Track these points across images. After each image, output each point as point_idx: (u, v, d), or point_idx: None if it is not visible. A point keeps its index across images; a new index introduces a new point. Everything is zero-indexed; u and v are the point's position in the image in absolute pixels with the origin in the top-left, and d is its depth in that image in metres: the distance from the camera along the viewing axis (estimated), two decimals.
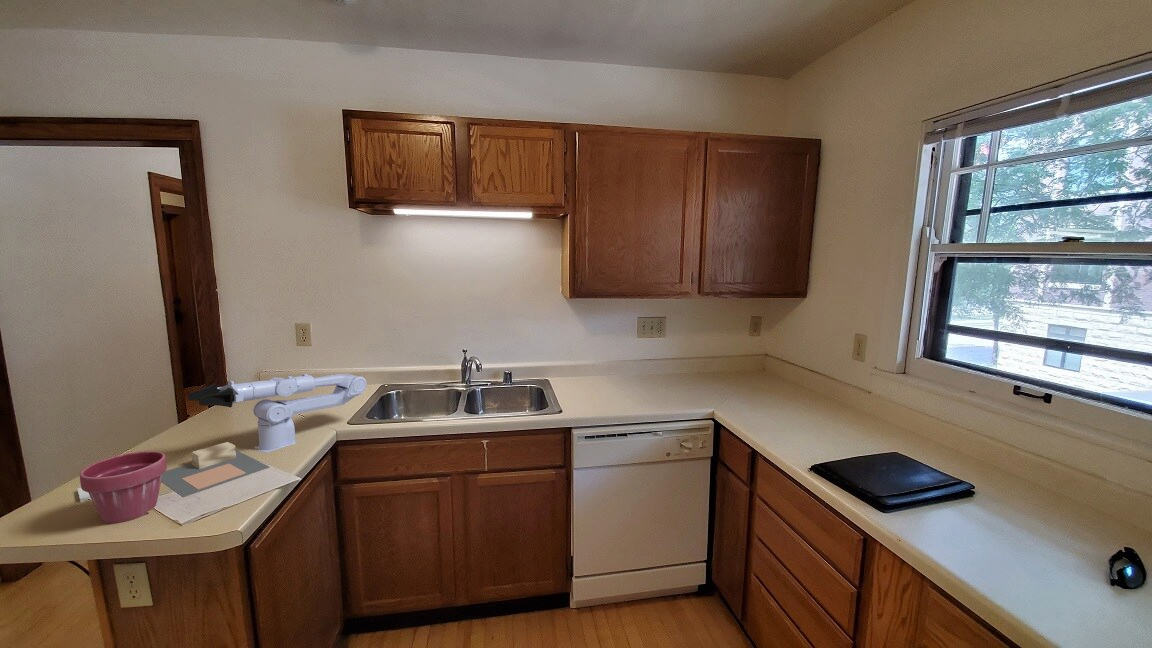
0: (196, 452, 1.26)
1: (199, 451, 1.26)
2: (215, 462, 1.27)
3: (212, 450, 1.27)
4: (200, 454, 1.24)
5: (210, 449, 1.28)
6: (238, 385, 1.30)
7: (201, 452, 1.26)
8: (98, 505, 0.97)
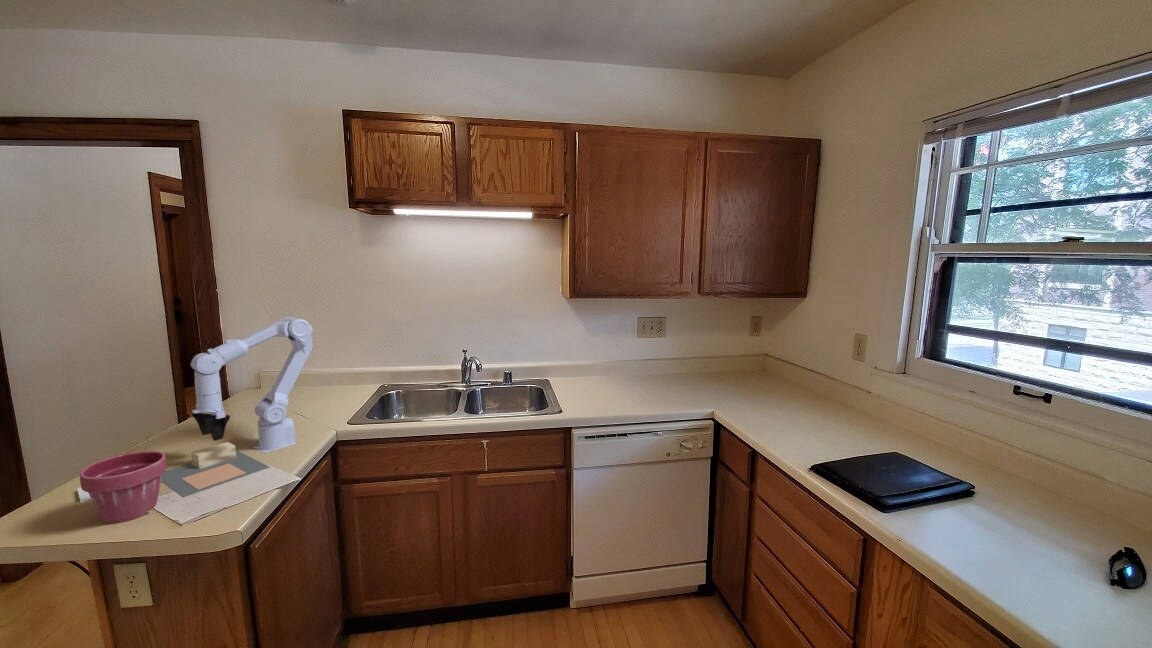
0: (196, 452, 1.26)
1: (199, 451, 1.26)
2: (215, 462, 1.27)
3: (212, 450, 1.27)
4: (200, 454, 1.24)
5: (210, 449, 1.28)
6: (200, 406, 1.24)
7: (201, 452, 1.26)
8: (98, 505, 0.97)
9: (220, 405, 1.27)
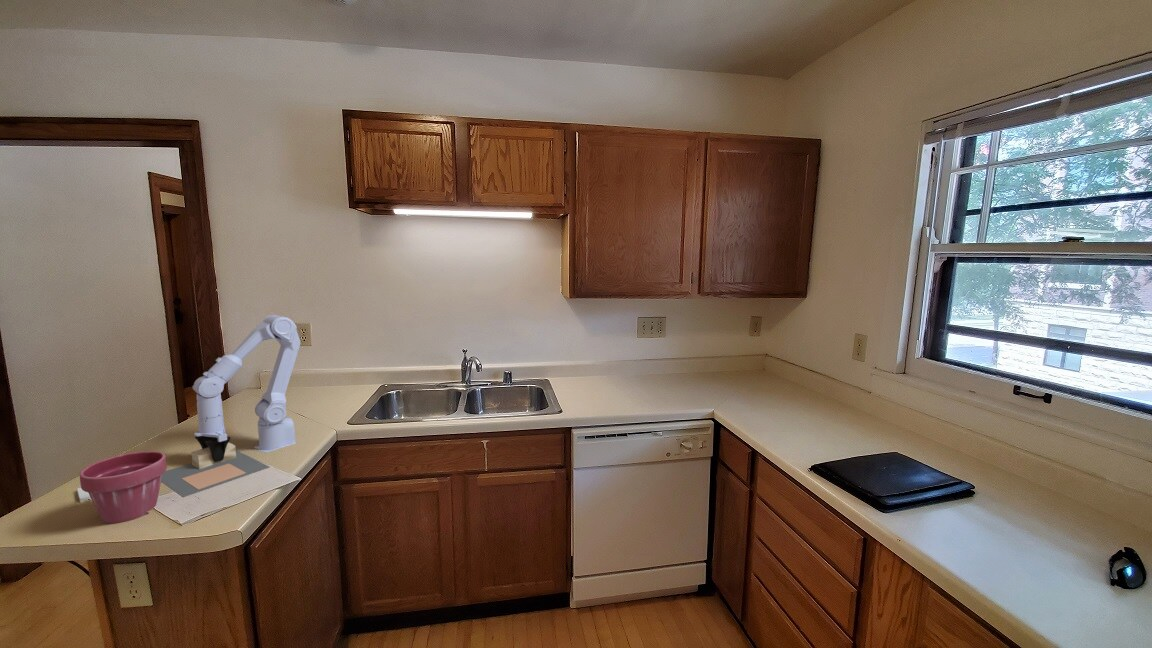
0: (196, 452, 1.26)
1: (199, 451, 1.26)
2: (215, 462, 1.27)
3: None
4: (200, 454, 1.24)
5: None
6: (202, 429, 1.25)
7: (201, 452, 1.26)
8: (98, 505, 0.97)
9: (222, 427, 1.28)
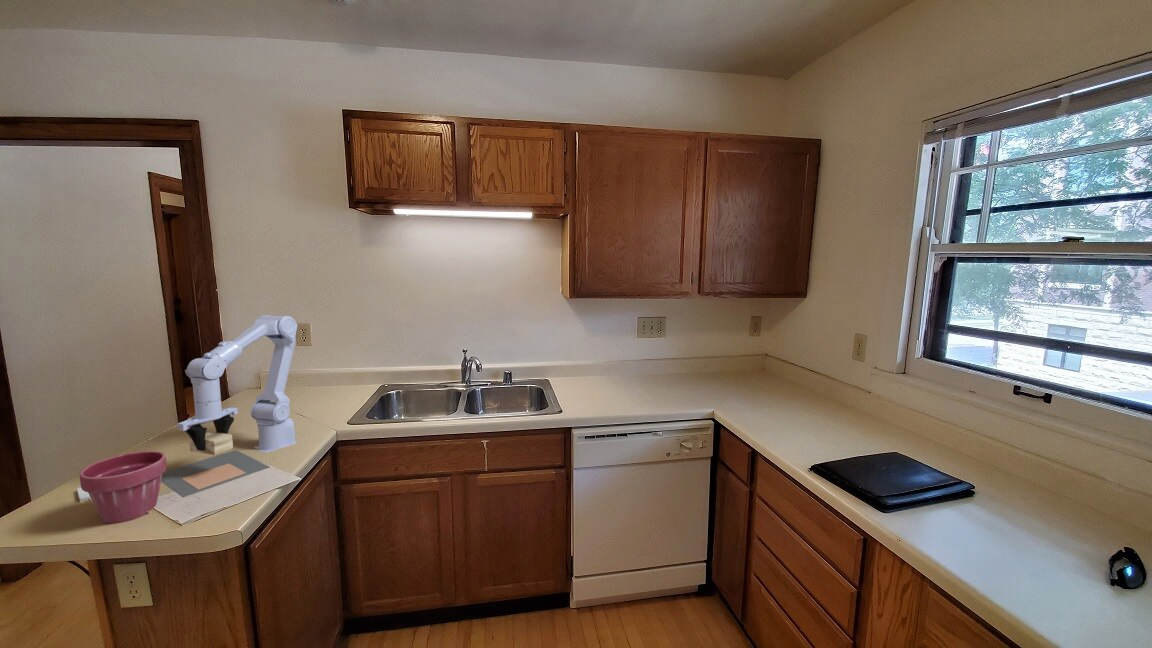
0: None
1: (206, 433, 1.23)
2: (200, 451, 1.19)
3: None
4: None
5: (209, 435, 1.21)
6: None
7: None
8: (98, 505, 0.97)
9: (205, 416, 1.18)
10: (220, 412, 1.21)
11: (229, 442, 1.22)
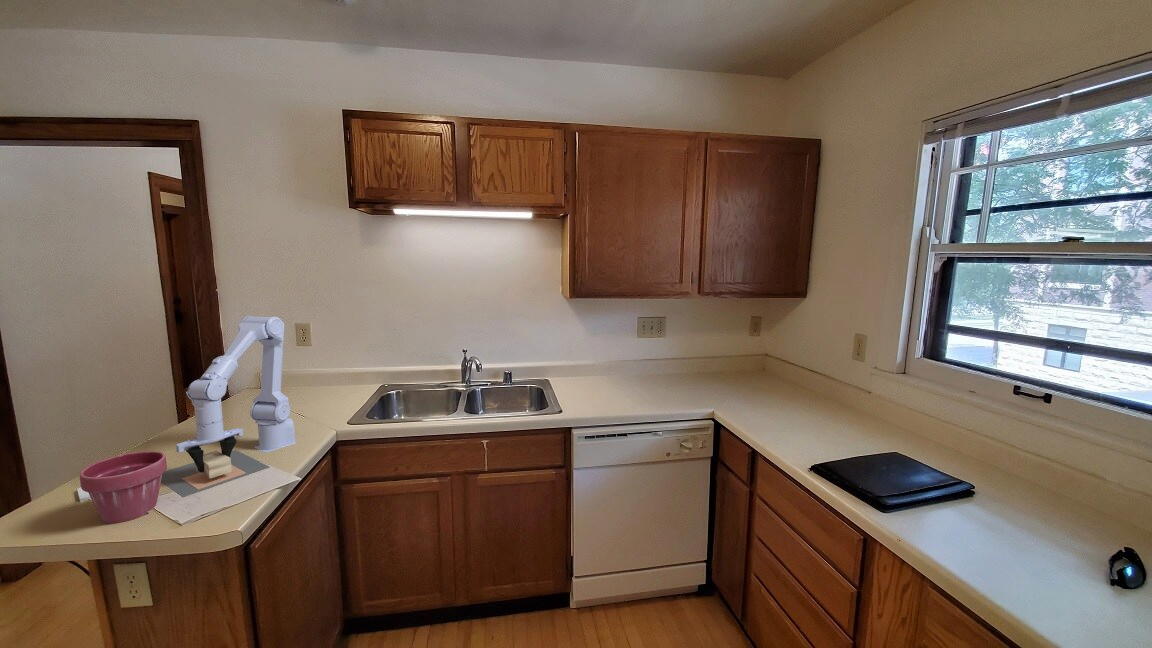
0: (210, 453, 1.22)
1: (212, 453, 1.22)
2: None
3: (205, 458, 1.19)
4: None
5: (212, 456, 1.20)
6: None
7: (206, 455, 1.21)
8: (98, 505, 0.97)
9: (203, 438, 1.16)
10: (220, 434, 1.18)
11: (227, 466, 1.19)
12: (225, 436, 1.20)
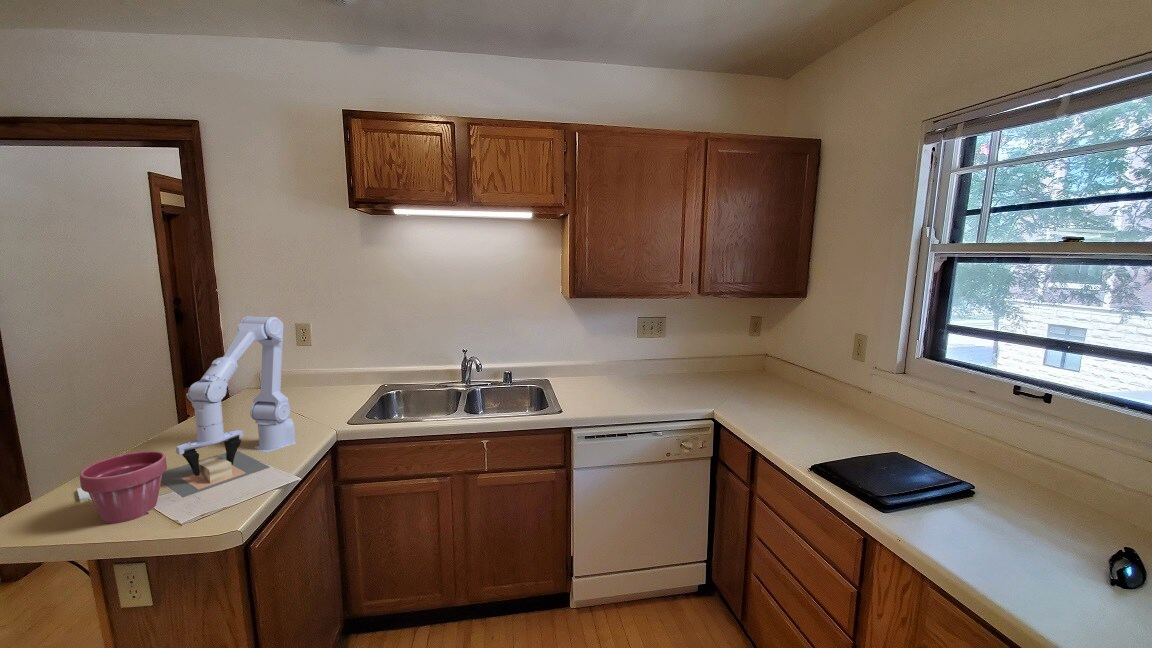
0: (211, 457, 1.22)
1: (212, 458, 1.22)
2: (202, 476, 1.18)
3: (206, 463, 1.19)
4: (200, 461, 1.20)
5: (213, 461, 1.20)
6: None
7: (207, 459, 1.21)
8: (98, 505, 0.97)
9: (204, 440, 1.16)
10: (220, 436, 1.18)
11: (228, 470, 1.19)
12: (225, 438, 1.20)
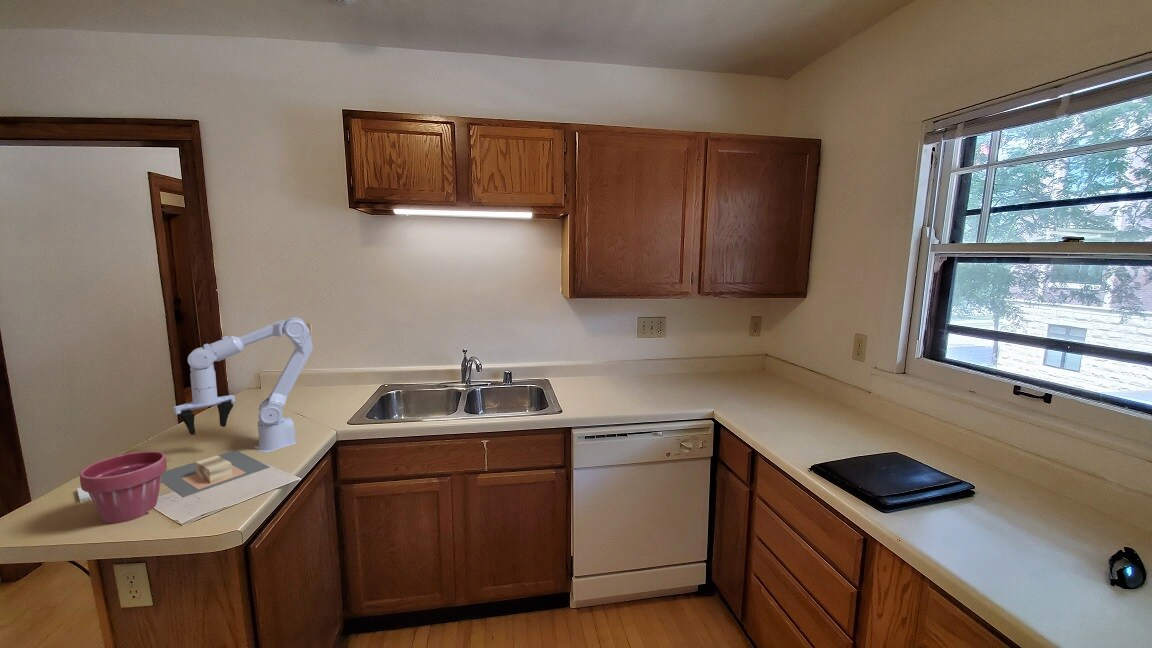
0: (211, 457, 1.22)
1: (212, 458, 1.22)
2: (202, 476, 1.18)
3: (206, 463, 1.19)
4: (200, 461, 1.20)
5: (213, 461, 1.20)
6: None
7: (207, 459, 1.21)
8: (98, 505, 0.97)
9: (199, 402, 1.27)
10: (214, 399, 1.29)
11: (228, 470, 1.19)
12: (219, 401, 1.30)
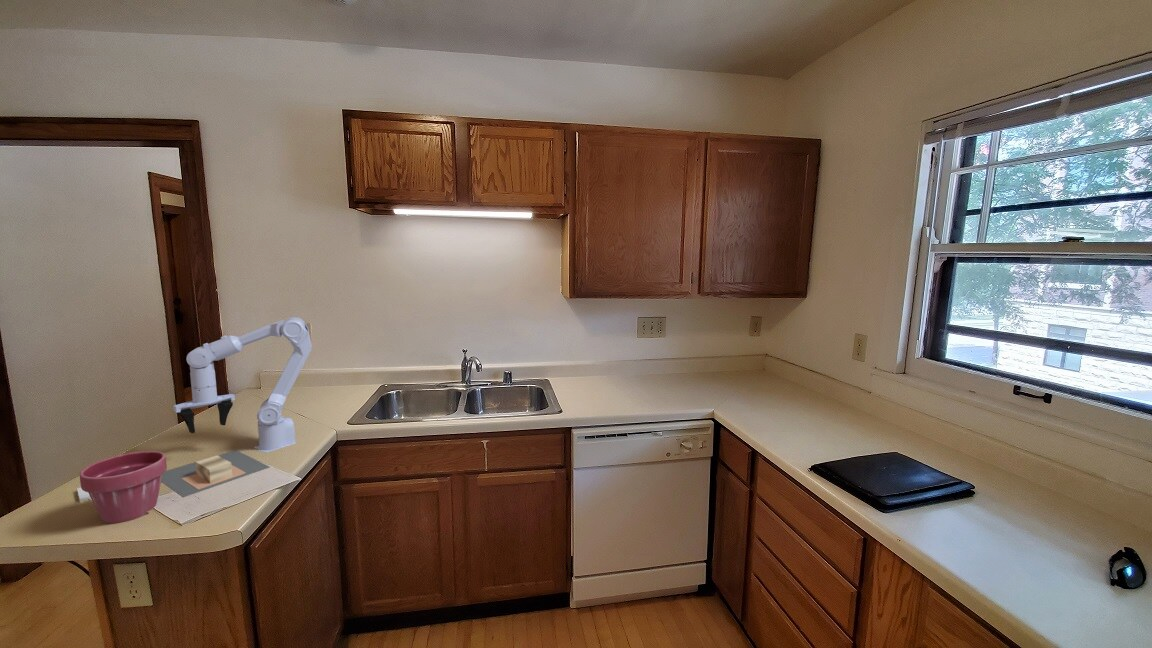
0: (211, 457, 1.22)
1: (212, 458, 1.22)
2: (202, 476, 1.18)
3: (206, 463, 1.19)
4: (200, 461, 1.20)
5: (213, 461, 1.20)
6: None
7: (207, 459, 1.21)
8: (98, 505, 0.97)
9: (198, 401, 1.28)
10: (213, 398, 1.30)
11: (228, 470, 1.19)
12: (218, 400, 1.31)
